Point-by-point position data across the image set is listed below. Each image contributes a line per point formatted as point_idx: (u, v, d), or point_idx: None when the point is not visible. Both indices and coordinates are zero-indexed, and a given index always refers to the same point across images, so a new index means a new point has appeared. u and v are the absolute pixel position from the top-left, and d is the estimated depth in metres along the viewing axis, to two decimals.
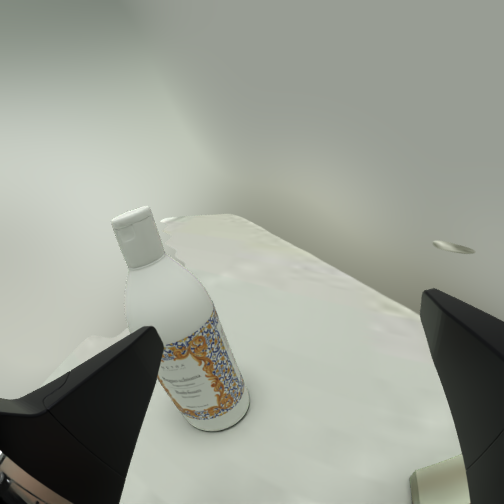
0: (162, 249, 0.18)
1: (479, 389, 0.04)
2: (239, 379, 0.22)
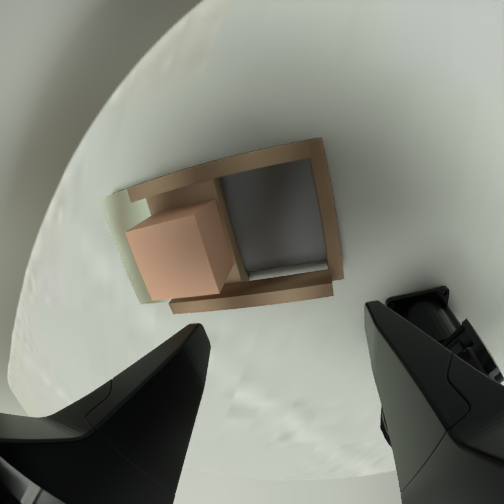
0: None
1: (404, 414, 0.04)
2: None
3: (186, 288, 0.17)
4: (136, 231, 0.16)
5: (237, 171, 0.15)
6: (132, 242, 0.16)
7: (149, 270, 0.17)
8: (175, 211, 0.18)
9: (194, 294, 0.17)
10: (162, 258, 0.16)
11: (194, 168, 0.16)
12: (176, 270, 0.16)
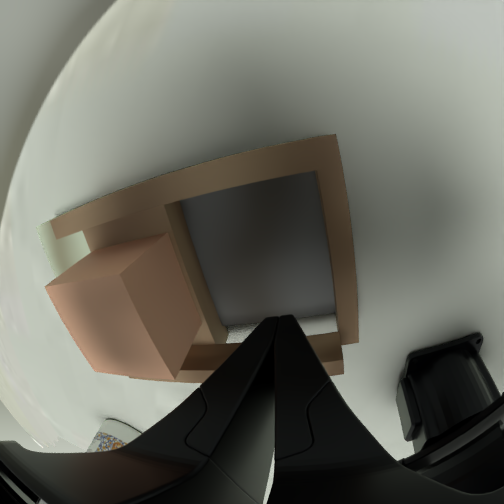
0: None
1: None
2: (99, 441, 0.22)
3: (130, 367, 0.10)
4: (55, 287, 0.09)
5: (190, 195, 0.09)
6: (54, 300, 0.10)
7: (81, 338, 0.10)
8: (112, 252, 0.11)
9: (142, 375, 0.10)
10: (92, 327, 0.10)
11: (125, 191, 0.09)
12: (112, 344, 0.10)
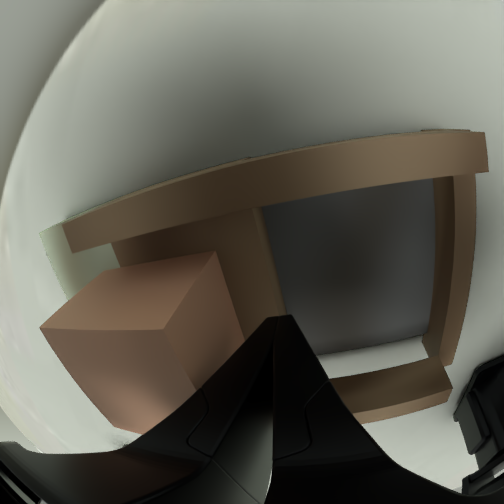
0: None
1: None
2: None
3: None
4: (55, 332, 0.06)
5: (333, 189, 0.05)
6: (55, 346, 0.06)
7: (96, 394, 0.07)
8: (134, 279, 0.08)
9: None
10: (113, 387, 0.07)
11: (210, 176, 0.06)
12: (143, 408, 0.07)
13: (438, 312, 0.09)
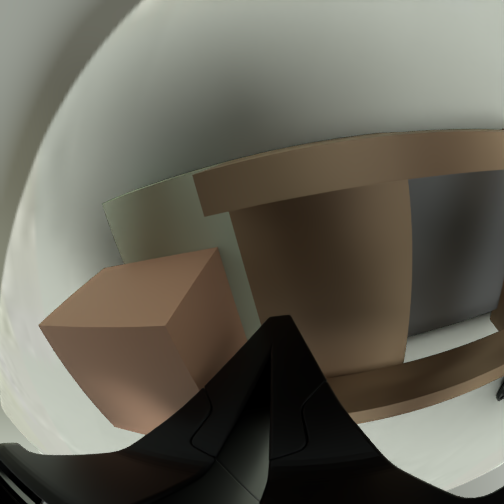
0: None
1: None
2: None
3: None
4: (54, 329, 0.06)
5: (499, 166, 0.04)
6: (54, 344, 0.06)
7: (95, 393, 0.07)
8: (135, 276, 0.08)
9: None
10: (113, 385, 0.06)
11: (422, 137, 0.05)
12: (144, 407, 0.07)
13: None
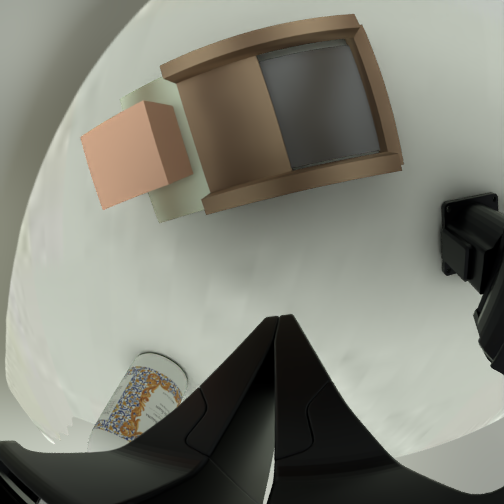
0: None
1: None
2: (131, 375, 0.24)
3: (135, 185, 0.14)
4: (90, 132, 0.13)
5: (289, 35, 0.11)
6: (86, 145, 0.13)
7: (100, 172, 0.14)
8: None
9: (143, 191, 0.14)
10: (112, 155, 0.13)
11: (241, 35, 0.12)
12: (125, 165, 0.14)
13: (378, 124, 0.15)
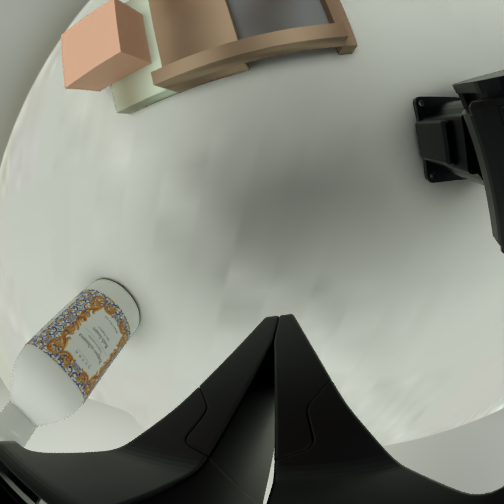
0: (7, 404, 0.11)
1: None
2: (77, 297, 0.22)
3: (94, 59, 0.11)
4: (69, 29, 0.10)
5: None
6: (63, 40, 0.11)
7: (69, 57, 0.11)
8: None
9: (99, 62, 0.12)
10: (82, 41, 0.11)
11: None
12: (90, 46, 0.11)
13: (329, 16, 0.12)
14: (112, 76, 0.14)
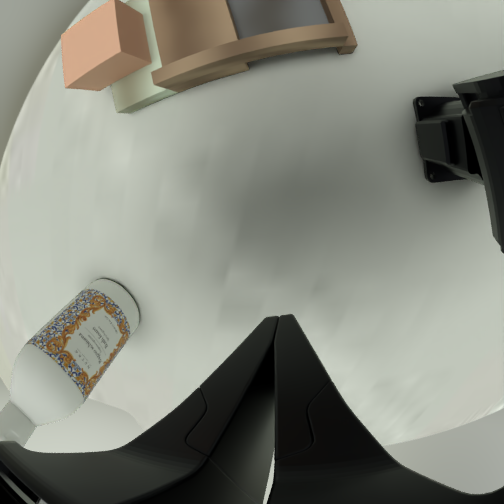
0: (7, 404, 0.11)
1: None
2: (77, 297, 0.22)
3: (94, 58, 0.11)
4: (69, 29, 0.10)
5: None
6: (64, 39, 0.11)
7: (69, 57, 0.11)
8: None
9: (99, 62, 0.11)
10: (82, 41, 0.11)
11: None
12: (90, 45, 0.11)
13: (329, 16, 0.12)
14: (112, 76, 0.14)
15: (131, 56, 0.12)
